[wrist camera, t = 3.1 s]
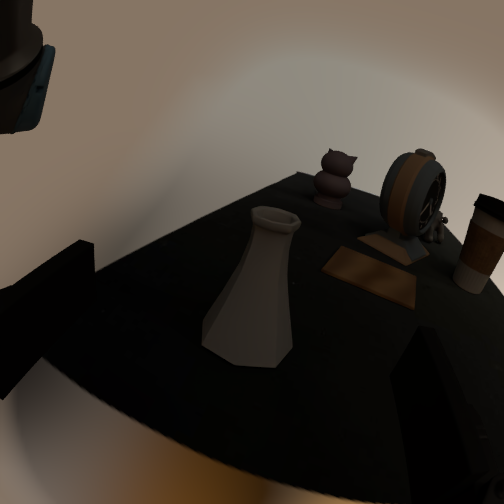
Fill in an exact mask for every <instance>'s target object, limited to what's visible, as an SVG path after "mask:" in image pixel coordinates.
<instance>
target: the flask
mask: <svg viewBox="0 0 504 504" xmlns="http://www.w3.org/2000/svg"><path fill="white" fill-rule="evenodd" d="M251 218H252V222H253V227H252V231H251V235H250V239H249V242H248V244H247V247H246V249H245V252H244V254H243V256H242V259H241V261H240V263H239V265H238V266H237V268H236V269H235V271H234V273H233V274H232V276H231V278H230V279H229V281H228V282H227V284H226V286H225V287H224V289H223V291H222V292H221V293H220V295H219V296H218V298H217V299H216V301H215V302H214V304H213V305H212V307H211V308H210V310H209V311H208V313H207V314H206V316H205V318H204V319H203V327H202V345H203V346H204V347H206V348H207V349H209V350H211V351H212V352H214V353H215V354H217V355H219V356H220V357H222V358H224V359H225V360H227V361H228V362H230V363H232V364H234V365H239V366H253V367H270V368H275V367H276V366H277V365H278V364H279V363H280V362H281V360H282V359H283V358H284V357H285V356H286V354H287V353H288V352H289V351H290V350H291V348H292V333H291V323H290V313H289V300H288V285H287V268H288V256H289V248H290V244H291V240H292V236H293V233H294V231H296V230H297V229H299V227H300V224H301V221H300V220H299V218H298V217H297V215H295V214H292V213H290V212H287V211H284V210H282V209H278V208H272V207H266V206H259V207H256V208H253V209H252V210H251Z"/></svg>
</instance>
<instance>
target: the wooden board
mask: <svg viewBox="0 0 504 504" xmlns="http://www.w3.org/2000/svg"><path fill="white" fill-rule="evenodd" d="M321 272H323V273H326V274H328V275H331V276H333V277H335V278H338V279H340V280H343V281H345V282H347V283H350V284H352V285H354V286H357V287H359V288H362V289H364V290H366V291H369V292H371V293H373V294H376V295H378V296H381V297H383V298H385V299H388V300H390V301H392V302H395V303H397V304H400V305H402V306H404V307H407V308H409V309H411V310H413V309H414V306H415V290H416V276H414V275H412V274H409V273H407V272H405V271H402V270H400V269H397V268H395V267H393V266H390V265H388V264H385V263H383V262H381V261H378V260H376V259H373V258H371V257H368V256H366V255H363V254H361V253H358V252H356V251H353V250H351V249H348V248H346V247H343V246H341V247H340V248H339V250H338V251H337V252H336V253H335V254H334V255H333V257H332V258H331V259H330V260H329V261H328V263H327V264H326V265H325V266H324V267H323V268H322V270H321Z"/></svg>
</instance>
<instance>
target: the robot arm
mask: <svg viewBox="0 0 504 504" xmlns="http://www.w3.org/2000/svg"><path fill="white" fill-rule="evenodd" d="M32 5H33V0H0V134H9V133H10V134H14V133H15V132H21V131H29V130H32V129H34V128H35V127H36V126H37V125H38V123H39V121H40V118H41V114H42V110H43V106H44V101H45V97H46V92H47V88H48V84H49V79H50V75H51V71H52V66H53V62H54V57H55V48H54V47H53V46H49V45H48V44H47V45H44V46H43V35H42V32H41V30H40V29H39V28H38V27H37V26H36V25H35V24H32V23H31V22H32ZM96 300H97V295H96V281H95V263H94V244H93V243H90V242H87V241H84V240H78V241H76V242H75V243H73V244H72V245H70V246H69V247H67V248H66V249H64V250H63V251H61V252H59V253H58V254H57V255H55V256H53V257H52V258H51V259H49V260H47V261H46V262H45V263H43V264H42V265H40V266H39V267H37V268H36V269H34V270H33V271H32V272H30V273H29V274H27V275H26V276H24V277H23V278H22V279H20V280H19V281H18V282H16V283H15V284H13V285H12V286H11V285H10V286H8V287H6V288H3V289H0V399H2V400H4V398H5V397H6V396H7V395H8V394H9V393H10V391H11V390H12V389H13V388H14V387H15V386H16V384H17V383H18V382H19V381H20V380H21V379H22V378H23V377H24V376H25V374H26V373H27V372H28V371H29V370H30V369H31V368H32V367H33V366H34V364H35V363H36V362H37V361H38V360H39V359H40V358H41V357H42V356H43V355H44V354H45V353H46V351H47V350H48V349H49V348H50V347H51V346H52V345H53V344H54V343H55V342H56V341H57V340H58V339H59V338H60V337H61V336H62V335H63V334H64V333H65V331H66V330H67V329H68V328H69V327H70V326H71V325H72V324H73V323H74V322H75V321H76V320H77V319H78V318H79V317H80V316H81V315H82V314H83V313H84V312H85V311H86V310H87V309H88V308H89V307H90V306H91V305H92V304H93V303H94V302H95V301H96ZM390 380H391V384H392V388H393V393H394V397H395V402H396V407H397V412H398V417H399V422H400V427H401V433H402V438H403V444H404V450H405V456H406V462H407V469H408V476H409V483H410V491H411V500H412V504H504V473H499V470H498V467H497V464H496V461H495V458H494V455H493V451H492V448H491V445H490V443H489V440H488V439H487V434H486V431H485V429H483V428H484V426H483V423H482V420H481V418H480V415H479V414H478V413H477V411H476V410H475V409H474V407H473V406H472V405H471V404H467V402H466V399H465V397H464V394H463V392H462V389H461V387H460V384H459V382H458V380H457V377H456V375H455V373H454V370H453V368H452V366H451V363H450V361H449V359H448V357H447V355H446V352H445V350H444V348H443V346H442V344H441V342H440V340H439V338H438V336H437V333H436V331H435V329H434V328H429V327H424V326H418V328H417V330H416V332H415V333H414V335H413V337H412V339H411V341H410V342H409V344H408V346H407V348H406V349H405V351H404V353H403V354H402V356H401V358H400V360H399V361H398V363H397V364H396V366H395V368H394V369H393V371H392V373H391V374H390Z"/></svg>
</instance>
